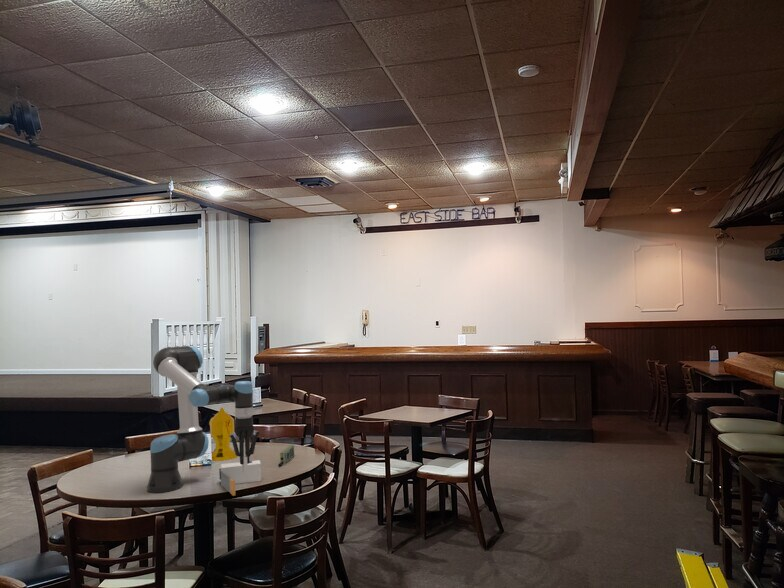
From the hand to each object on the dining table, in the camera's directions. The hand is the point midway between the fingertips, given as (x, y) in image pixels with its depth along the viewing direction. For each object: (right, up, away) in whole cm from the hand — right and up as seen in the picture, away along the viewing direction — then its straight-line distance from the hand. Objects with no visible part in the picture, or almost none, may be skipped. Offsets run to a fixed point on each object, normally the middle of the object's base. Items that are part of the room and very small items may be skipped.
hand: (244, 471), depth 250 cm
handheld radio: (+7, -13, +59) cm, 61 cm away
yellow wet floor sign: (-32, -16, +74) cm, 82 cm away
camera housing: (-7, -11, +21) cm, 25 cm away
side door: (-9, -9, +4) cm, 13 cm away
